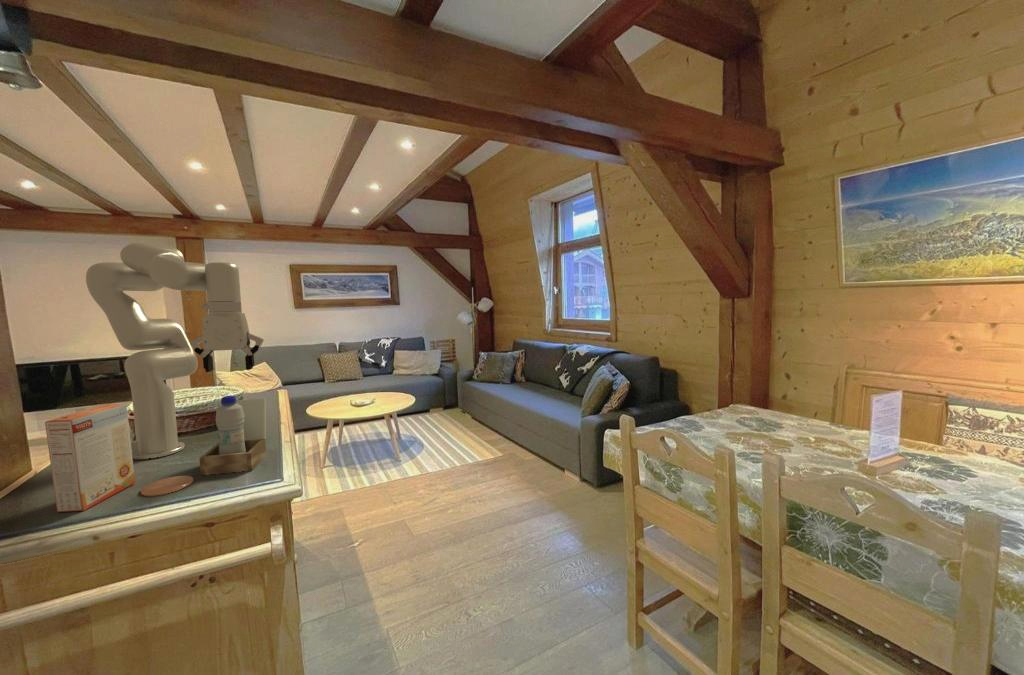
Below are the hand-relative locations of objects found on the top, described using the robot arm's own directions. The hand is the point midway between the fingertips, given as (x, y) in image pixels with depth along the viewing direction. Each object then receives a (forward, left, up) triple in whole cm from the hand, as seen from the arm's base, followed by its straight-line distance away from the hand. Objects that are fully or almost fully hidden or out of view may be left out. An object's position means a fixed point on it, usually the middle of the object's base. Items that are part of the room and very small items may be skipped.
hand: (229, 370), depth 112 cm
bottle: (-1, 0, -27) cm, 27 cm away
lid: (0, +8, -27) cm, 28 cm away
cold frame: (0, 0, -27) cm, 27 cm away
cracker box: (-24, -13, -27) cm, 39 cm away
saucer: (-11, -11, -27) cm, 31 cm away
